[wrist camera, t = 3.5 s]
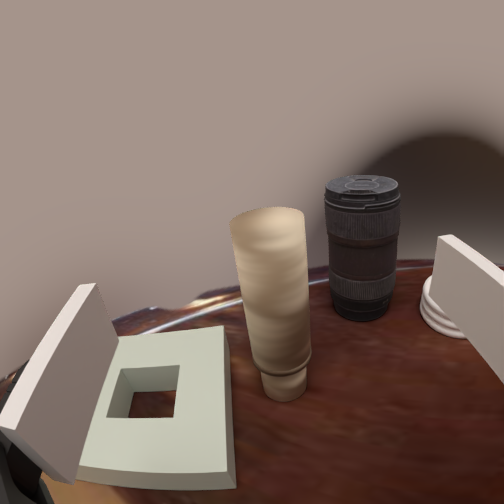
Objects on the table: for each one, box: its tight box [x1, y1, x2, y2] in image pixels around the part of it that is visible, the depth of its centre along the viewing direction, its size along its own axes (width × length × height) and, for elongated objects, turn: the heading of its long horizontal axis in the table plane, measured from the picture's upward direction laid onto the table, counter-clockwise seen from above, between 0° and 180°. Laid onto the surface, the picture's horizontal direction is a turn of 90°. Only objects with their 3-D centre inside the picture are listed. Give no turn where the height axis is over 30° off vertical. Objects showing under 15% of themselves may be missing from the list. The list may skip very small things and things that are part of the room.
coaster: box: [420, 276, 467, 339], centre depth 30 cm, size 10×10×4 cm
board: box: [75, 326, 236, 490], centre depth 24 cm, size 14×16×4 cm
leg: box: [229, 207, 311, 402], centre depth 23 cm, size 5×5×16 cm
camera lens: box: [324, 175, 401, 321], centre depth 33 cm, size 8×8×15 cm
